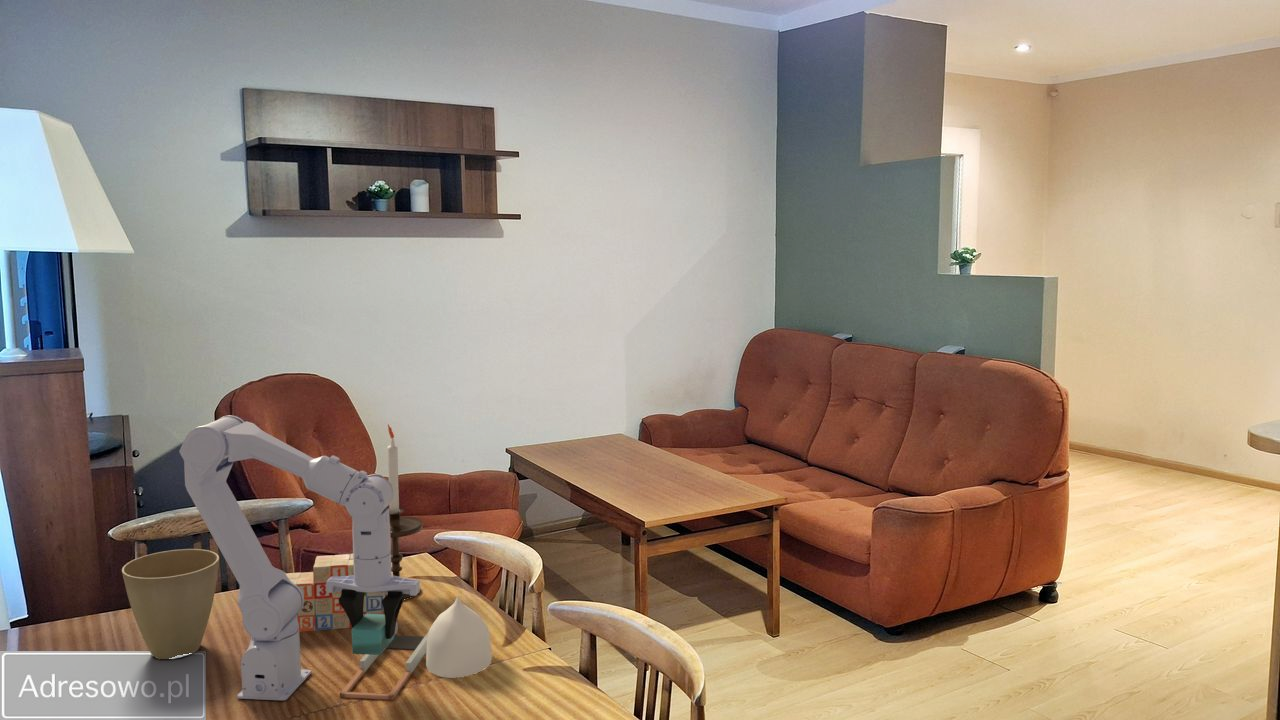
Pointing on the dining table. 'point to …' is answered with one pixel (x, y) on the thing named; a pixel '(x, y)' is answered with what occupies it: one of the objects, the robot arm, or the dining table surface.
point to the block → (370, 635)
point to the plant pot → (172, 598)
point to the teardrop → (458, 643)
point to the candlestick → (398, 512)
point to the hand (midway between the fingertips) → (374, 635)
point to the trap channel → (420, 649)
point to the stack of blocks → (329, 595)
